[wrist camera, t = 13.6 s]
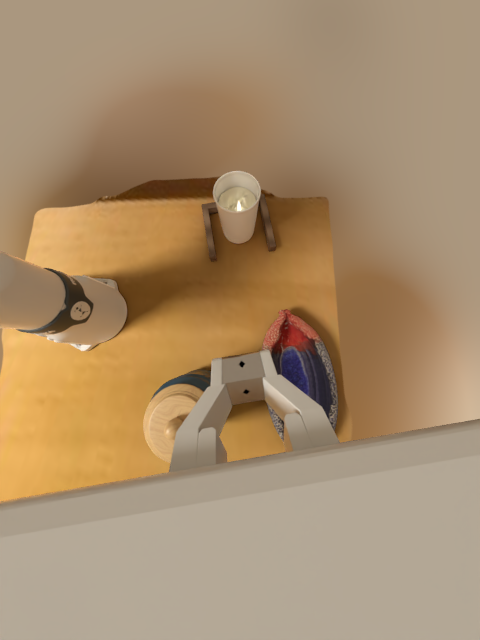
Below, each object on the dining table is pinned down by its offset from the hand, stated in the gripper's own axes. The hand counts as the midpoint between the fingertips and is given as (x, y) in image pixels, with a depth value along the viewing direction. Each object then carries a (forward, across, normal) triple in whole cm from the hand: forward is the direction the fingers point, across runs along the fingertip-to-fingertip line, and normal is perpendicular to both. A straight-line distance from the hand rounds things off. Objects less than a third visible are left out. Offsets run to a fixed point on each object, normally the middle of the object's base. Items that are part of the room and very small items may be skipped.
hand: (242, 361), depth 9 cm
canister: (+18, +12, +30) cm, 37 cm away
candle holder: (+47, -4, +1) cm, 47 cm away
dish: (+19, -11, +29) cm, 36 cm away
